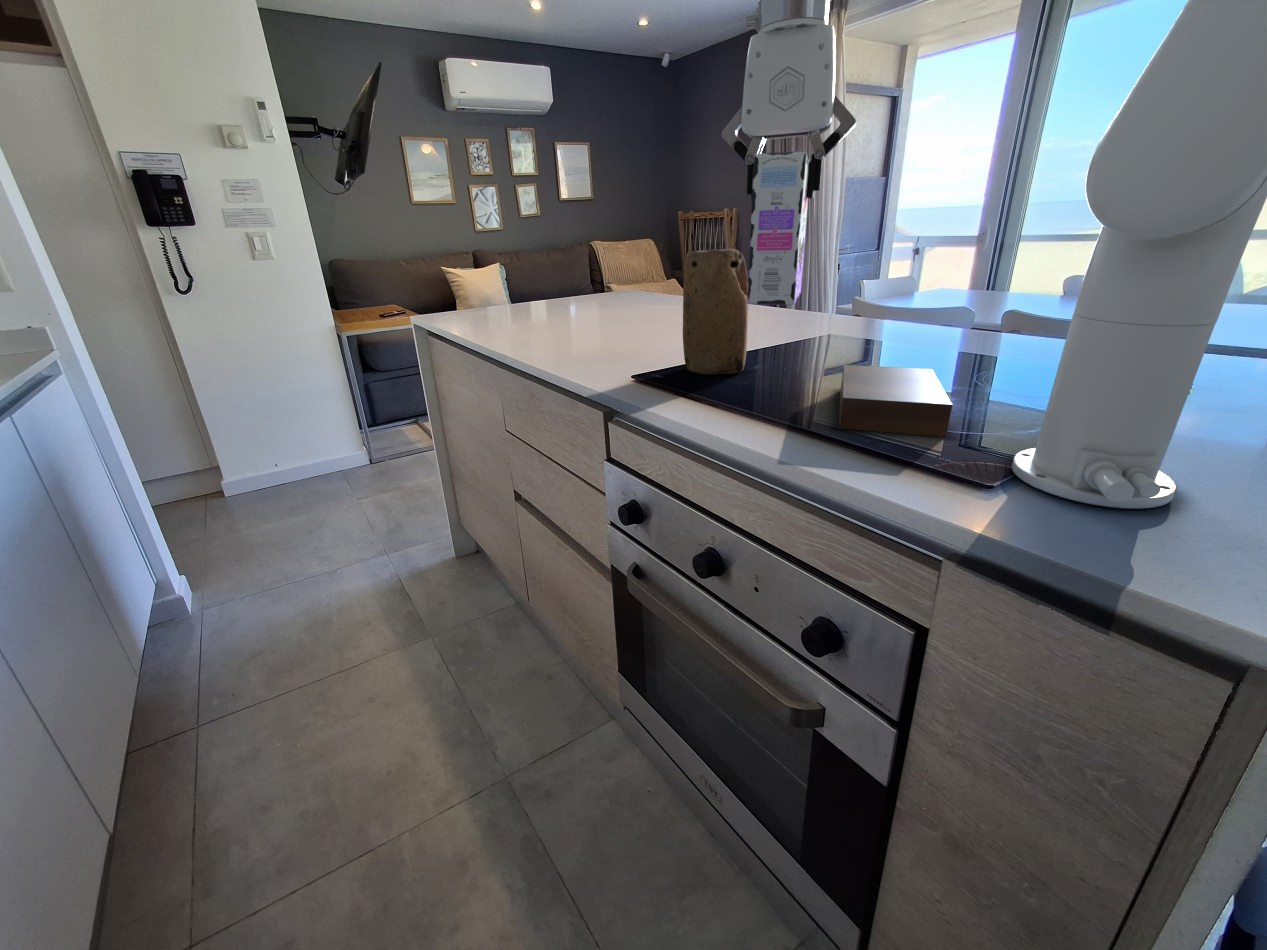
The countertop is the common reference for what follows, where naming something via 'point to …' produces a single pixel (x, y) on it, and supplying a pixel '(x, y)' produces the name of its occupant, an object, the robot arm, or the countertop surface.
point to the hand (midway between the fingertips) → (782, 198)
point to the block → (715, 311)
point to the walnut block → (893, 400)
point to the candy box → (778, 227)
